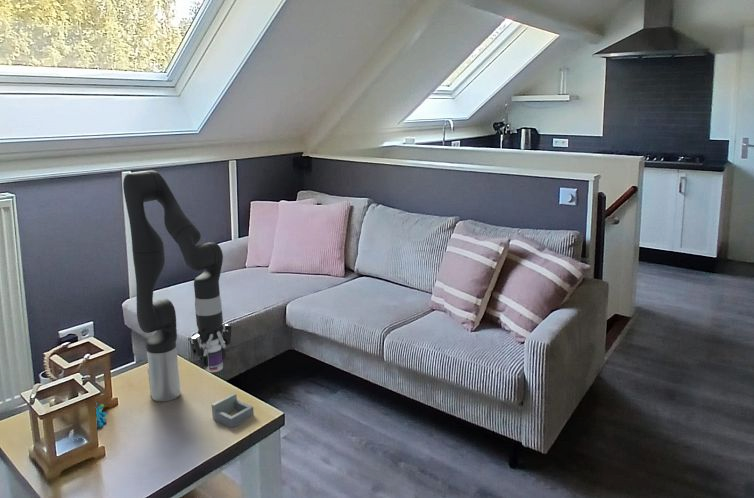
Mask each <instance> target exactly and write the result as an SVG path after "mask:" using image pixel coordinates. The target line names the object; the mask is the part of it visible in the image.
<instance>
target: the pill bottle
mask: <svg viewBox="0 0 754 498" xmlns="http://www.w3.org/2000/svg"><path fill="white" fill-rule="evenodd" d="M218 343H219V341H218V338H217V339H214V340H212V341H211V344H210V348H209V349H208V351H207V356H208V367H204V370H205V372H207V373H217V372H220V371H221V370H222V369H223V368H224V362H223V361H224V360H222V349H221V345H220V344H218ZM204 344H205V345H206V343H204ZM203 350H204V349H203Z"/></svg>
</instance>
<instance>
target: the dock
mask: <svg viewBox="0 0 754 498" xmlns="http://www.w3.org/2000/svg"><path fill="white" fill-rule="evenodd" d="M237 398H238V397H237V393H235V392H233V393H231V394H229V395H227V396H225V397H223V398H221V399H219V400H217V401H215V402H213V403H212V404H211V413H212V414H211V415H212V419H213V420H215V421H216V422H219V423H221V424H222V425H225V426H227V427H229V428H234V427H236V426H238V425H240V424H241V423H243V422H244V421H246V420H249V419H250V418H252V417H254V416H255V413H254V406H252V405H250V404H248V403H245V402H243V401H241V400H239V399H237ZM233 411H236V412H237V413H234V414H233V415H230V414H229V413H231V412H233Z"/></svg>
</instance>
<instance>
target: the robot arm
mask: <svg viewBox="0 0 754 498" xmlns="http://www.w3.org/2000/svg"><path fill="white" fill-rule="evenodd" d="M122 184H123V185H122V187H123V189H122V190H123V195H124V200H125V201H124V202H125V205H126V209H127V215H128V220H129V225H130V226H129V229H130V236H131V237H130V238H131V249H132V250H131V251H132V257H133V258H132V260H133V266H134V273H135V284H136V285H135V288H136V317H137V323H138V326H139V329H140V330H141V331H142V332H144V333H146V334H150V333H153V332H154V334H153V335H151V336H150V337H149V338H148V339H147V341H146V342H145V346H146V347H145V348H146V357H147V363H148V364H147V365H148V369H147V374H148V375H147V376H148V384H149V391H150V392H149V394H150V395H151V399H152V400H153V401H156V402H161V403H162V402H163V403H164V402H170V401H173V400H175V399H176V398H179V396H181V394H182V393H181V392H182V391H181V382H180V381H181V379H180V370H179V361H178V351H177V349H178V348H177V339H178V338H177V337H178V334H177V333H178V332H177V331H178V330H177V314H176V309H175V306H174V305H173V302H172V301H171V300H169V299H168V298H162V299H159V300H158V299H157V300H154V299H153V297H154V292H155V291H154V290H155V286H156V284H157V282H158V280H159V278H160V276H161V274H162V272H163V269H164V266H165V261H166V258H165V257H166V256H165V247H164V246H165V245H164V242H163V239H162V237H161V236H160V234H159V233H158V232H157V230H156V229H155V228H154V227H153V226H152V225H151V223H150V222H149V220H148V217H147V216H146V212H145V206H144V205H145V204H144V203H146V202H152V201H155V200H156V201H157V202H158V203H159V204H160V205H161V206H162V207H163V213H164V214H163V215H164V216H163V218H164V219H163V221H164V226H165V227H164V228H165V229H166V231H167V232H168V234H169V235H170V236H171V238H172V239H173V240H174V241H175V243H176V244H177V245H178V247H179V249H180V253H181V254H182V257H183V260H184V262H185V264H186V266H187V267H188V268H189V269H191V270H193V271H196V272H197V271H202V270H203V272H202V273H201V274H200V275H197V276H196V277H195V278H194V280H193V288H194V289H193V291H194V308H195V319H196V320H195V321H196V327H197V334H196V335H194V336H190V337H189V338H188V340H189V344H190V347H191V350H192V354H193V355H196V356H197V357H199V362H200V365H201V366H202V367H203V368H205V367H208V356H207V351H208V349H209V348H210V344H211V341H212V340H214V339H217V338H218V341H219V343H218V344H220V345H221V349H222V360H223V361H224V360H225V359H226V347H227V346H228V345H230V344H231V339H232V338H231V337H232V325H230V324H227V323H224V319H223V317H224V316H223V308H222V307H223V306H222V299H221V295H220V293H221V292H220V282H219V281H220V277H221V272H222V267H223V261H224V256H223V250H222V248H221V246H220V245H219V244H218V243H216V242H215V241H211V242H210V241H209V242H205V243H202V244H201V243H200V244H198V243H199V242H200V240H201V237H202V235H201V232H200V231H199V229H198V228H197V227H196V225H194V223H193V222H192V221H191V220H190V219H189V217H188V216H187V215H186V214H185V212H184V211H183V209H182V208H181V206H180V204H179V203H178V200H177V199H176V198H175V197H176V196H175V195H174V193H173V192H172V191H171V189H170V187H169V185H168V183H167V181H166V180H165V178H164V177H163V176H162V174H160V172H158V171H156V170H143V171H135V172H129V173H126V175H125V176H124V178H123V183H122ZM153 300H154V301H153ZM205 343H206V345H205ZM203 349H204V350H203Z"/></svg>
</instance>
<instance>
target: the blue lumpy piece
mask: <svg viewBox="0 0 754 498" xmlns="http://www.w3.org/2000/svg"><path fill="white" fill-rule="evenodd" d="M97 405H98V402H96V406H97ZM104 407H105V404H103V403H101V404H100V405H98V407H95V408H96V415H97V422H96V423H97V428H102V427H103V426H104V424H105V423H106V421H107V418H105V417H106V416H107V413H106V412H105V411H103V410H104ZM102 411H103V412H102Z"/></svg>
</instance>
